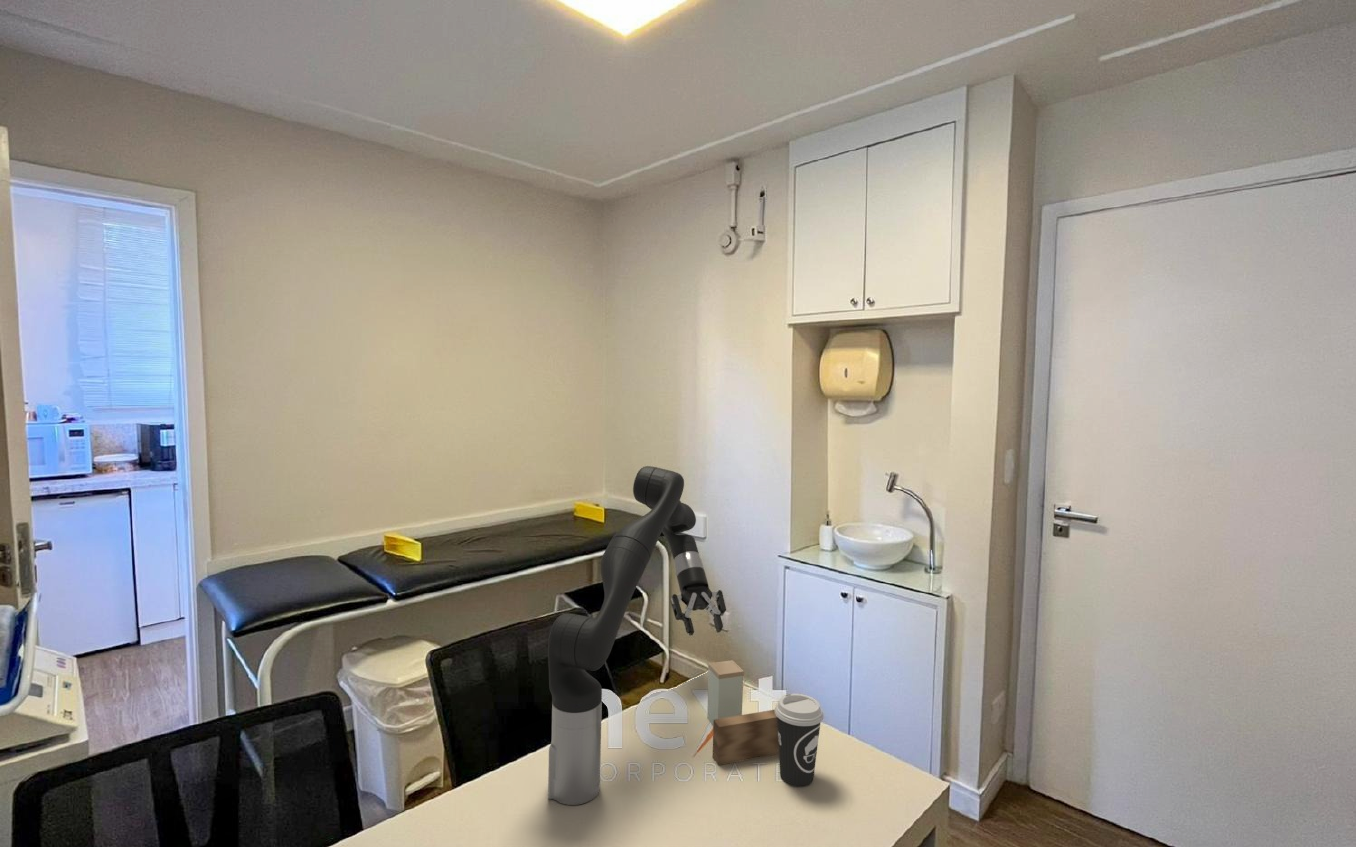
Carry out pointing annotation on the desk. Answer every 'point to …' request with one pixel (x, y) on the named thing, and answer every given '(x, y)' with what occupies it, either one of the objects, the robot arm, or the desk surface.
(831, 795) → the desk surface
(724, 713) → the canister
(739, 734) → the board
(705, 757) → the desk surface
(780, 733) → the coffee cup
